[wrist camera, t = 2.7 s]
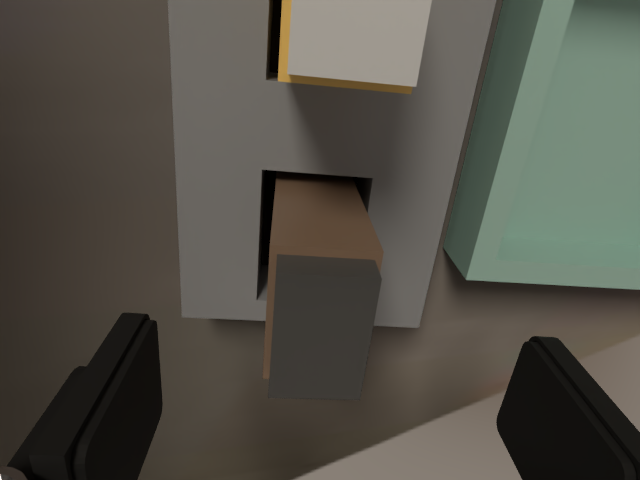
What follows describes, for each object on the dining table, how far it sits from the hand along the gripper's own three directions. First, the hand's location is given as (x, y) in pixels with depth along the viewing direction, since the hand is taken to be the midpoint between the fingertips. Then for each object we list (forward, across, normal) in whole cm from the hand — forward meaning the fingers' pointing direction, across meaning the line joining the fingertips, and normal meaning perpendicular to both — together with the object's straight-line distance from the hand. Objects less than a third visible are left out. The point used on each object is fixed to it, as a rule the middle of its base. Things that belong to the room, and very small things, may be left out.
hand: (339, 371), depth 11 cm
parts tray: (+10, -11, -6) cm, 16 cm away
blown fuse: (+10, +1, -1) cm, 10 cm away
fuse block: (+10, +1, -5) cm, 11 cm away
